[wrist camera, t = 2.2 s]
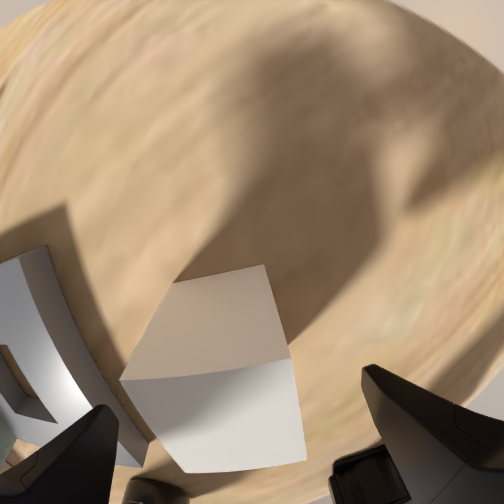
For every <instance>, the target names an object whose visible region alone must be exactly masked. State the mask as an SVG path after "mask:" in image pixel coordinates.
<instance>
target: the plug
mask: <svg viewBox="0 0 504 504" xmlns="http://www.w3.org/2000/svg"><path fill="white" fill-rule="evenodd" d="M119 381H120V383H121V385H122V386H123V388H124V390H125V391H126V393H127V395H128V396H129V398H130V400H131V401H132V403H133V404H134V406H135V407H136V409H137V410H138V412H139V413H140V415H141V416H142V418H143V419H144V421H145V422H146V424H147V425H148V426H149V428H150V429H151V431H152V432H153V433H154V435H155V436H156V437H157V439H158V440H159V441H160V443H161V444H162V445H163V447H164V448H165V449H166V450H167V452H168V453H169V454H170V455H171V457H172V458H173V459H174V460H175V461H176V463H177V464H178V465H179V466H180V467H181V468H182V470H183V471H184V472H185V473H215V472H231V471H242V470H251V469H259V468H266V467H273V466H279V465H284V464H290V463H295V462H299V461H304V460H307V453H306V447H305V440H304V433H303V427H302V420H301V414H300V408H299V402H298V395H297V389H296V383H295V377H294V371H293V365H292V359H291V355H290V352H289V348H288V345H287V342H286V338H285V335H284V331H283V328H282V324H281V321H280V317H279V314H278V311H277V307H276V304H275V300H274V297H273V294H272V290H271V287H270V283H269V280H268V277H267V273H266V270H265V266H264V264H263V265H258V266H253V267H249V268H244V269H239V270H234V271H230V272H225V273H220V274H215V275H210V276H206V277H201V278H196V279H191V280H186V281H181V282H176V283H172V285H171V286H170V288H169V290H168V291H167V293H166V295H165V297H164V298H163V300H162V302H161V304H160V305H159V307H158V309H157V311H156V312H155V314H154V316H153V318H152V319H151V321H150V323H149V325H148V327H147V328H146V330H145V332H144V334H143V336H142V337H141V339H140V341H139V343H138V345H137V347H136V349H135V350H134V352H133V354H132V356H131V358H130V360H129V362H128V364H127V366H126V368H125V370H124V371H123V373H122V375H121V377H120V379H119Z"/></svg>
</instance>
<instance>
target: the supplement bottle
mask: <svg viewBox="0 0 504 504" xmlns="http://www.w3.org/2000/svg"><path fill="white" fill-rule="evenodd" d="M122 504H190V499H189V496H188V495H187V494H186V493H185V492H184V491H182V490H180V489H178V488H176V487H174V486H171V485H168V484H165V483H162V482H158V481H154V480H148V479H133V480H131V481H129V482H128V484H127V486H126V490H125V493H124V497H123V500H122Z"/></svg>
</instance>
